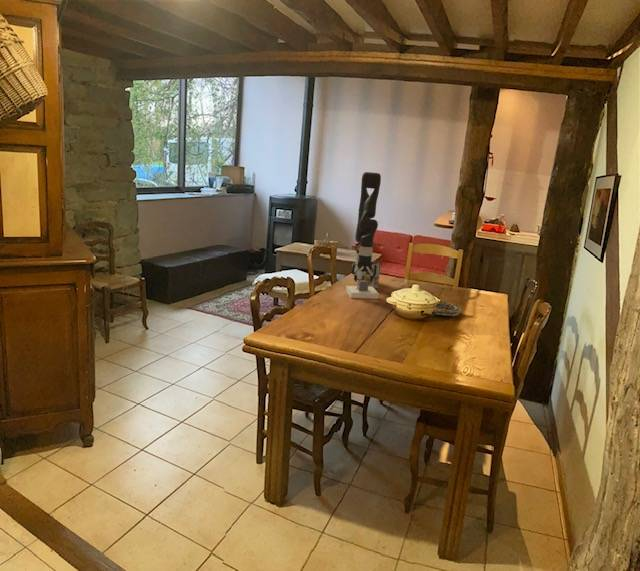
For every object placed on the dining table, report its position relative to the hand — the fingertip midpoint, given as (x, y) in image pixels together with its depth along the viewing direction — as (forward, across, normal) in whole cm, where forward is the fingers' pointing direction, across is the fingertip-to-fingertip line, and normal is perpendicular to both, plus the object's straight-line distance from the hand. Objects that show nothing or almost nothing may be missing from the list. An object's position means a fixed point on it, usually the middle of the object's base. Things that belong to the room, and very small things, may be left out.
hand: (362, 281), depth 278 cm
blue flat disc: (+8, -36, +31) cm, 49 cm away
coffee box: (+8, -9, -19) cm, 22 cm away
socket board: (+8, 0, 0) cm, 8 cm away
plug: (+8, 0, 0) cm, 8 cm away
